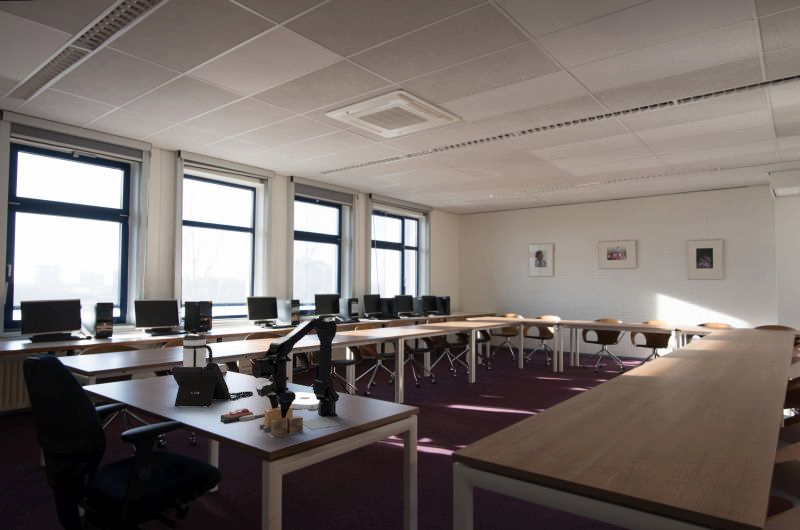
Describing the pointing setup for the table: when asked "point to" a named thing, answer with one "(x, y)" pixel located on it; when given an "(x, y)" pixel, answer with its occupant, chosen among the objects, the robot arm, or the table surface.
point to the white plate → (305, 401)
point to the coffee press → (195, 350)
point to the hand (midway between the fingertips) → (278, 415)
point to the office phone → (202, 385)
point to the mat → (319, 423)
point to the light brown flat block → (276, 415)
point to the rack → (268, 430)
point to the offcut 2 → (294, 424)
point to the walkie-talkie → (239, 416)
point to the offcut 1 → (278, 427)
